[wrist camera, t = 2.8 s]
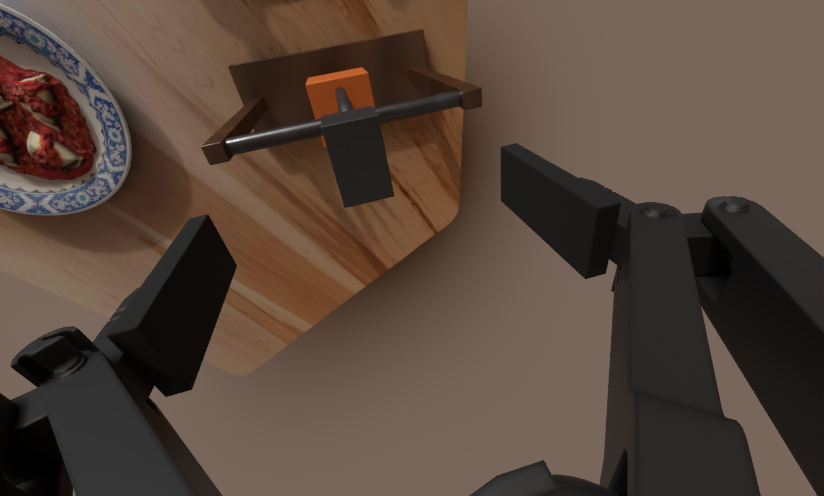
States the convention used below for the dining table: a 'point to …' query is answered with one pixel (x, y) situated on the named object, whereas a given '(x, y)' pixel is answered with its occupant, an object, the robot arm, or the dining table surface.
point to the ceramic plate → (55, 125)
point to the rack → (287, 75)
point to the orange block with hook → (351, 134)
